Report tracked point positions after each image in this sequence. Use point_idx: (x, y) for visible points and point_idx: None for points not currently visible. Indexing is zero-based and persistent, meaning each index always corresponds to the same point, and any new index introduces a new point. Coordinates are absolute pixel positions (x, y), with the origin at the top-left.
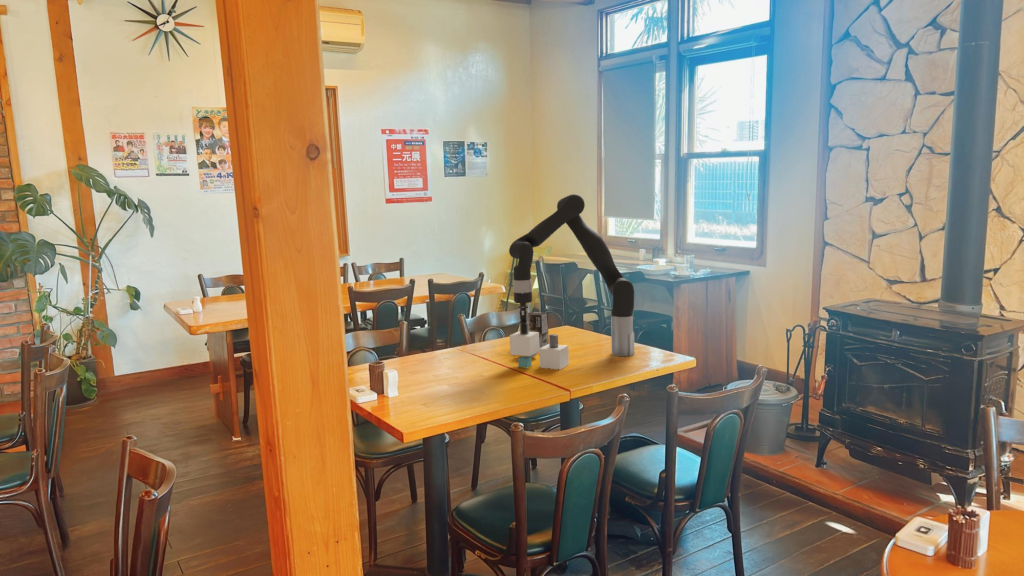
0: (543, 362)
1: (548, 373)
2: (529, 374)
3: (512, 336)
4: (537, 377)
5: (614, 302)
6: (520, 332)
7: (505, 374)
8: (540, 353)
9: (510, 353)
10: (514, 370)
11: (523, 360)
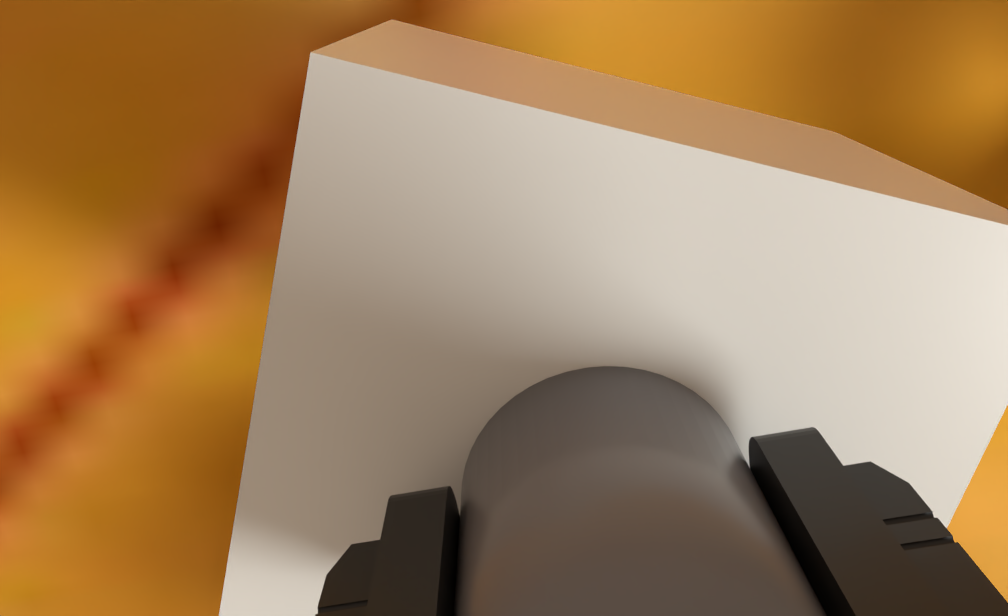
0: None
1: None
2: (135, 355)
3: (300, 160)
4: (24, 476)
5: None
6: (511, 428)
7: (34, 10)
8: None
9: (388, 21)
10: (299, 97)
11: None
